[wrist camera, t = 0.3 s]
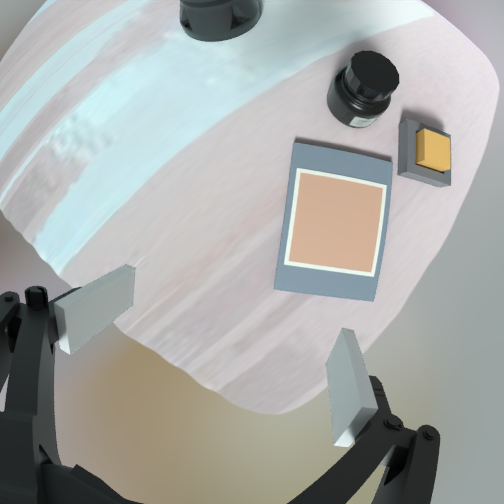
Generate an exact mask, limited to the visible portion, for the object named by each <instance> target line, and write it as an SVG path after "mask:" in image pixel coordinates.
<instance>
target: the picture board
mask: <svg viewBox="0 0 504 504" xmlns="http://www.w3.org/2000/svg"><path fill="white" fill-rule="evenodd" d="M392 171H393V163H392V162H388V161H385V160H381V159H377V158H373V157H368V156H364V155H360V154H355V153H351V152H346V151H341V150H336V149H331V148H326V147H320V146H314V145H308V144H302V143H296V142H294V143H293V150H292V158H291V167H290V175H289V183H288V190H287V198H286V206H285V213H284V221H283V228H282V235H281V242H280V249H279V256H278V263H277V269H276V276H275V283H274V289H275V290H282V291H290V292H297V293H305V294H313V295H321V296H329V297H337V298H346V299H355V300H364V301H373V302H374V298H375V293H376V289H377V284H378V279H379V274H380V268H381V263H382V257H383V251H384V245H385V238H386V231H387V224H388V216H389V207H390V197H391V185H392Z"/></svg>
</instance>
